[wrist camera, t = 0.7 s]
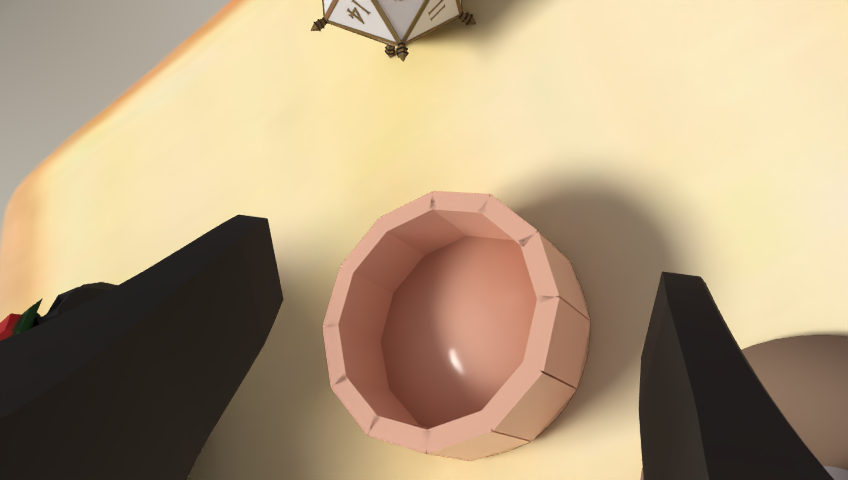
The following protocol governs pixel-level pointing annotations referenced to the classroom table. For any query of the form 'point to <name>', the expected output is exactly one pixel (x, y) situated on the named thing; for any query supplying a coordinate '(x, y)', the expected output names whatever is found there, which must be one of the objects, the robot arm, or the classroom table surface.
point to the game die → (391, 19)
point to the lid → (809, 392)
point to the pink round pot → (455, 328)
